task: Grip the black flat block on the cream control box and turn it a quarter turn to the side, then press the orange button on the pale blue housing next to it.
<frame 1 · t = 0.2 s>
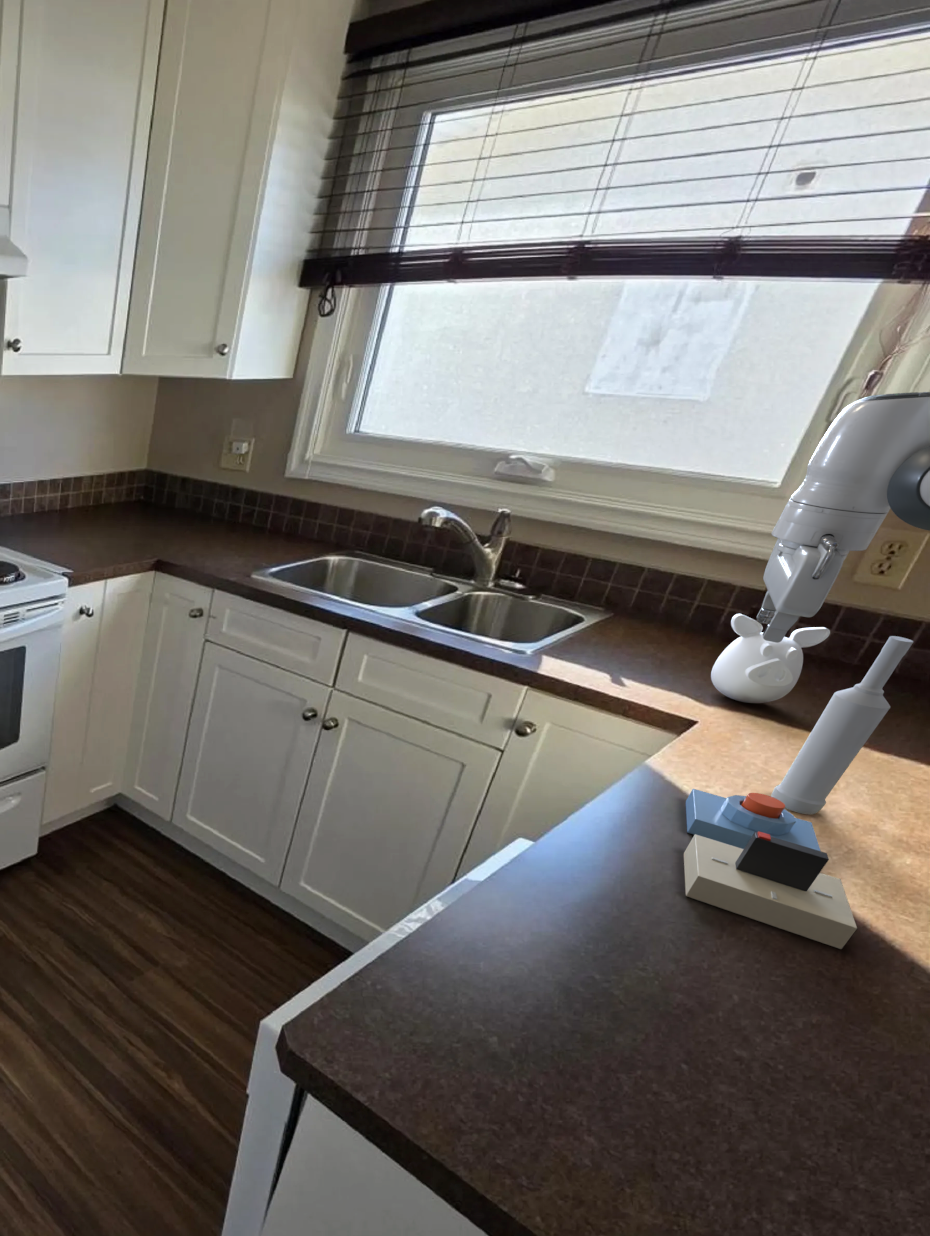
hand: (767, 631, 107), 23 cm above the worktop, tool pointing down, fingers open, 8 cm apart
bottle: (792, 806, 112), on the worktop
button housing: (745, 834, 105), on the worktop
start button: (762, 805, 103), point 4 cm above the worktop, slide at 0.1 cm
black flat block: (780, 860, 90), point 5 cm above the worktop, hinge at 0.0°
control box: (756, 897, 93), on the worktop
piggy bank: (742, 701, 144), on the worktop
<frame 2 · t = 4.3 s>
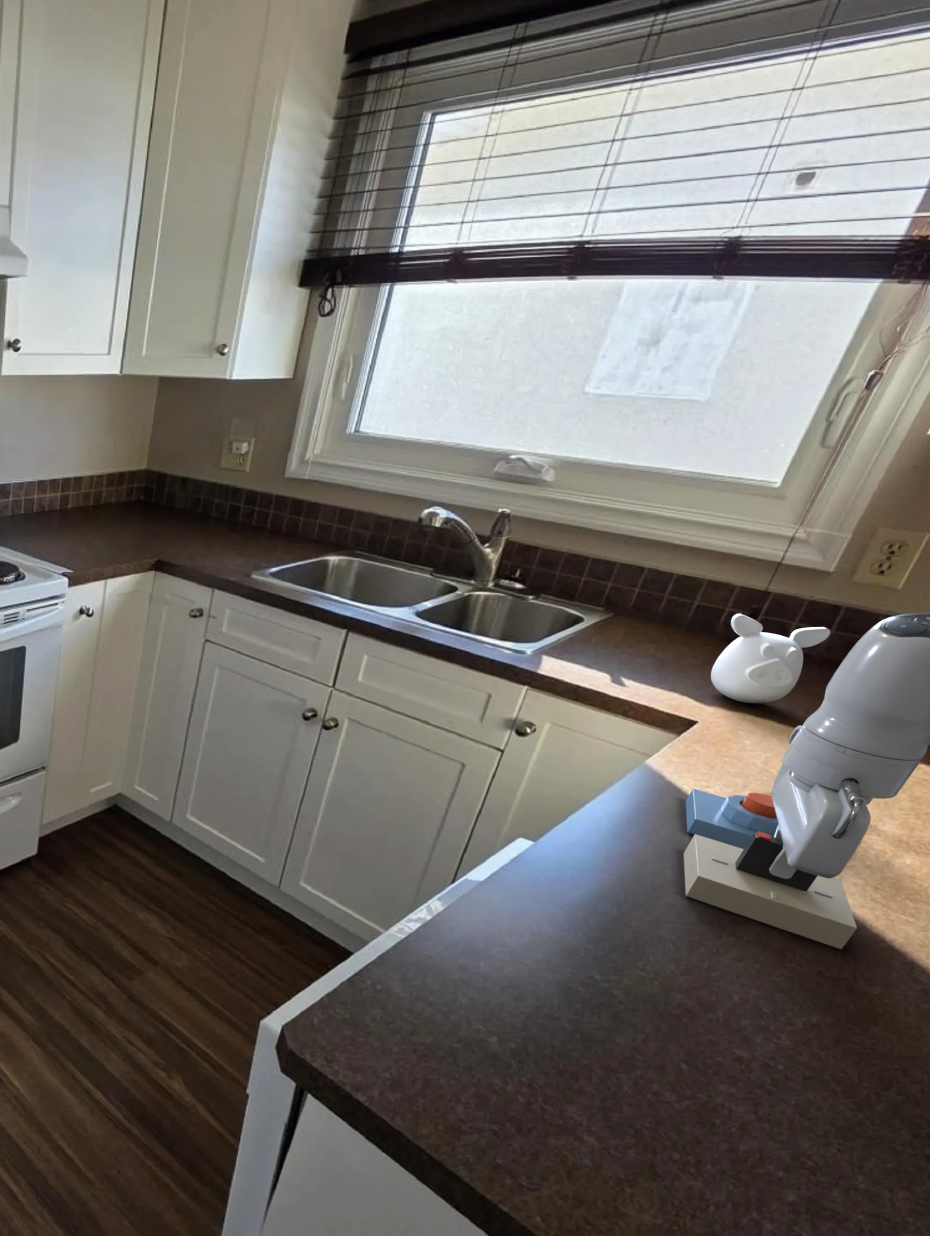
hand: (776, 867, 91), 4 cm above the worktop, tool pointing down, fingers closed on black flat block, 2 cm apart
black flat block: (780, 860, 90), point 5 cm above the worktop, hinge at 0.0°, touching gripper
everything else where it was.
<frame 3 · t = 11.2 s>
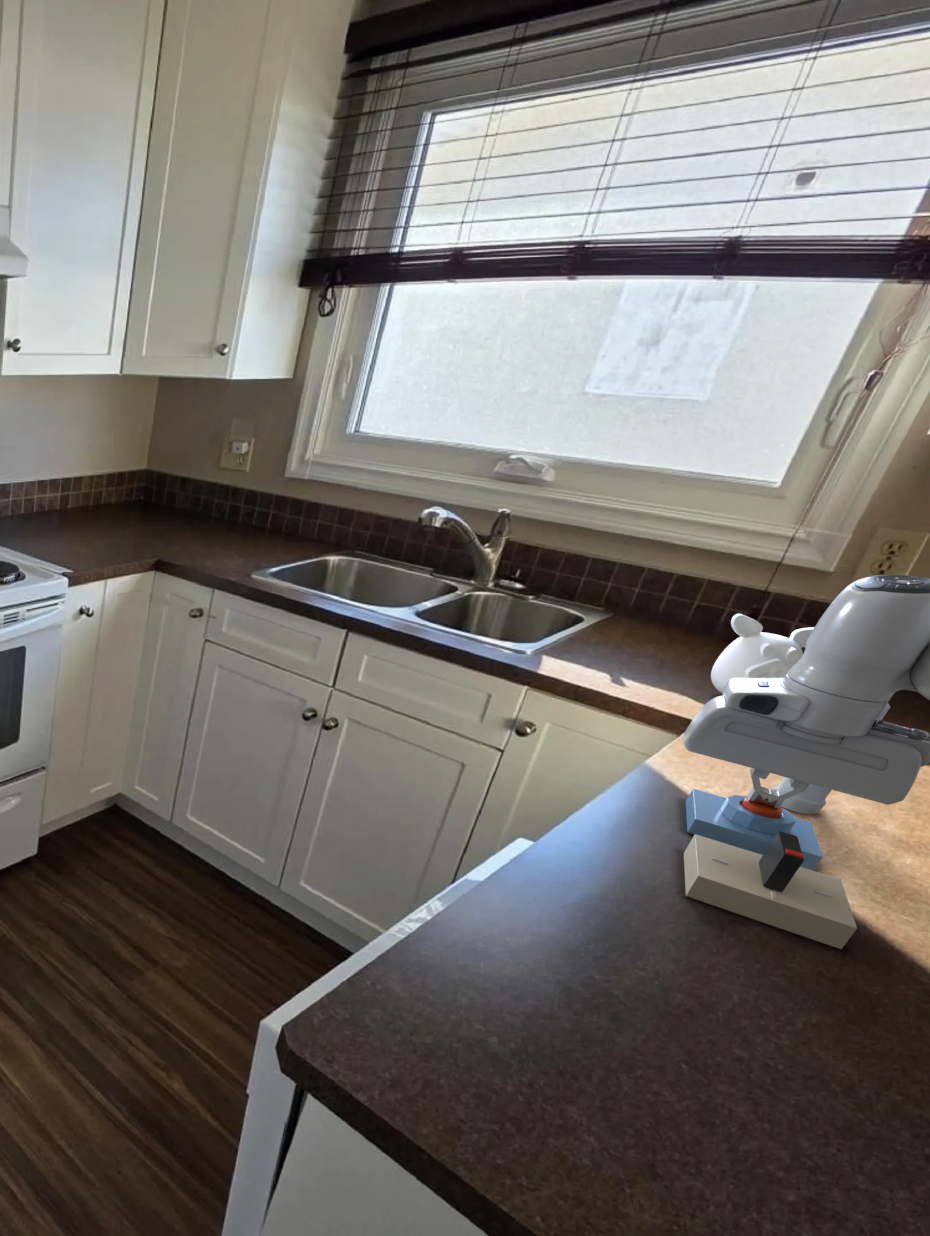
hand: (762, 802, 103), 5 cm above the worktop, tool pointing down, fingers closed, pressing on start button
start button: (760, 809, 103), point 4 cm above the worktop, slide at -0.5 cm, touching gripper
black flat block: (780, 860, 90), point 5 cm above the worktop, hinge at 90.0°
everything else where it was.
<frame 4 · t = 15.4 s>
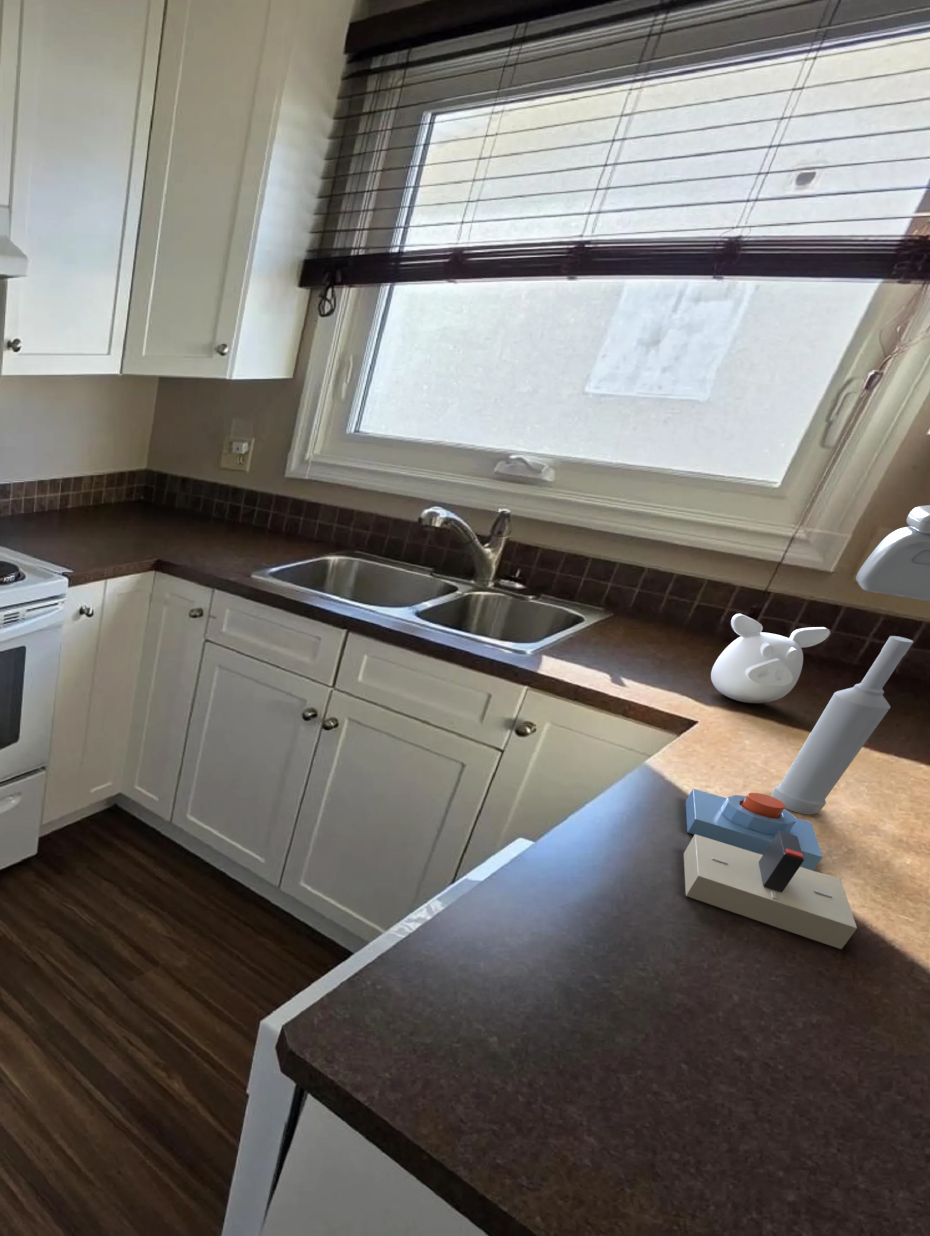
start button: (762, 805, 103), point 4 cm above the worktop, slide at 0.1 cm
everything else where it was.
at the end: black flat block at +90° (first picture: +0°); start button pushed in 1.1 cm at the most during the clip, back to where it started at the end; start button slide at 0.1 cm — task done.
